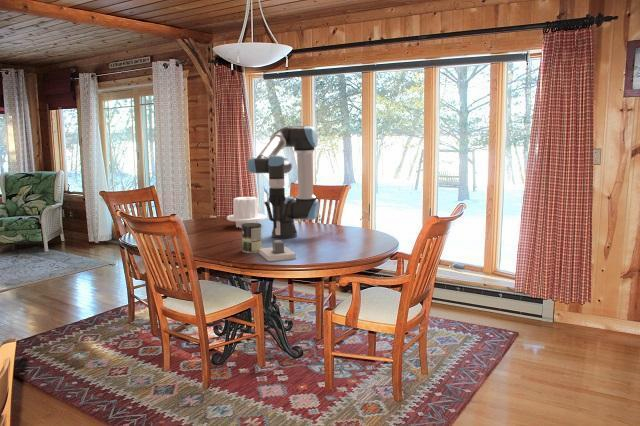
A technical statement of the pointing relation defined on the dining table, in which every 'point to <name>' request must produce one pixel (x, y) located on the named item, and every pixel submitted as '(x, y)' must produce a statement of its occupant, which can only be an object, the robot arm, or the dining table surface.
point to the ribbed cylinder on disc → (245, 211)
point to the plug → (278, 247)
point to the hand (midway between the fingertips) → (277, 234)
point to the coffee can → (251, 237)
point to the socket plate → (269, 255)
